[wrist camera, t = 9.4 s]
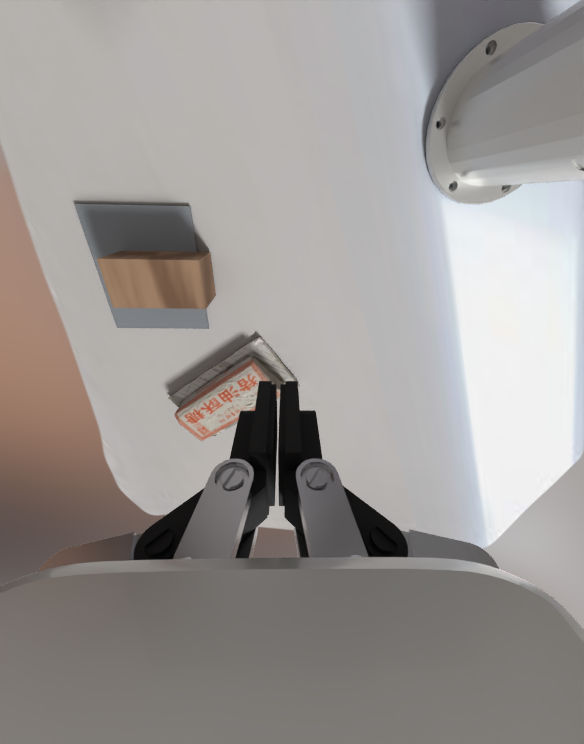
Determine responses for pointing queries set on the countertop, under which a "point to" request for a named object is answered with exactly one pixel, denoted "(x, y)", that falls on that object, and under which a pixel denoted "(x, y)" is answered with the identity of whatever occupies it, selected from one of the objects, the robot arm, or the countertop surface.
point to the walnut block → (158, 279)
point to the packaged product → (228, 389)
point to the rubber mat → (142, 233)
